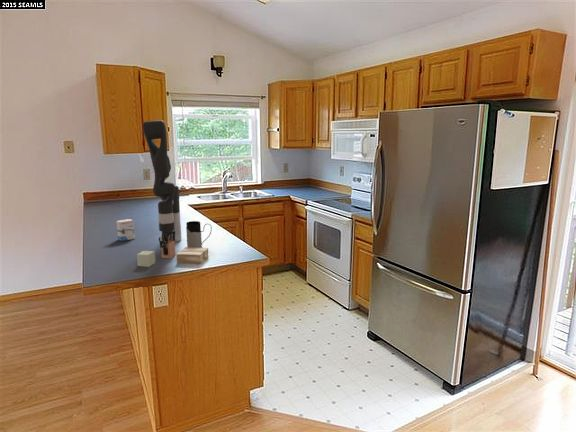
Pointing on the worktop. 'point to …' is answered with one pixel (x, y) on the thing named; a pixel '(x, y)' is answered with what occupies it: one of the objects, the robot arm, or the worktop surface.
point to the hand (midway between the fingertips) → (168, 253)
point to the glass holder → (194, 234)
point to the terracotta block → (169, 250)
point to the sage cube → (146, 258)
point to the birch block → (192, 255)
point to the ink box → (125, 229)
